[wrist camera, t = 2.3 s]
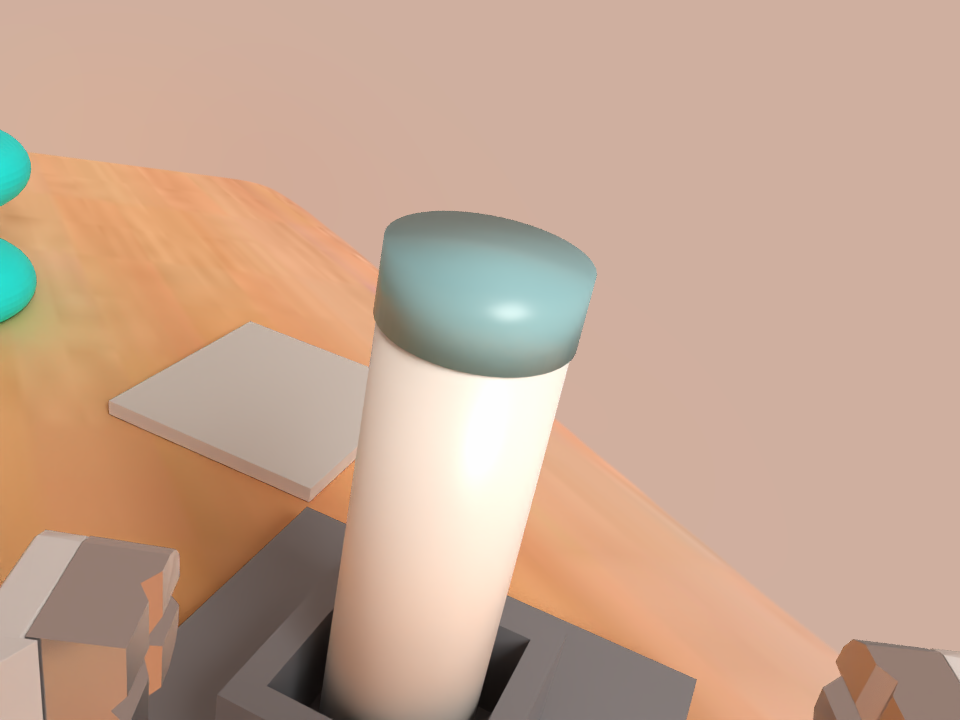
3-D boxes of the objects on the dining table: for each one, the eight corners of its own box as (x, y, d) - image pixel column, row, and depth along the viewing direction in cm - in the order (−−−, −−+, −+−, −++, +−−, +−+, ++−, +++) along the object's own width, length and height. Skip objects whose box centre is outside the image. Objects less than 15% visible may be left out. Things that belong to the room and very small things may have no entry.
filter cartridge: (279, 769, 28) (343, 247, 20) (360, 661, 33) (440, 196, 24) (424, 847, 27) (557, 322, 19) (488, 724, 31) (620, 254, 23)
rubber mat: (108, 413, 46) (108, 400, 45) (249, 332, 56) (250, 321, 55) (309, 502, 43) (310, 488, 42) (419, 399, 53) (421, 387, 52)
